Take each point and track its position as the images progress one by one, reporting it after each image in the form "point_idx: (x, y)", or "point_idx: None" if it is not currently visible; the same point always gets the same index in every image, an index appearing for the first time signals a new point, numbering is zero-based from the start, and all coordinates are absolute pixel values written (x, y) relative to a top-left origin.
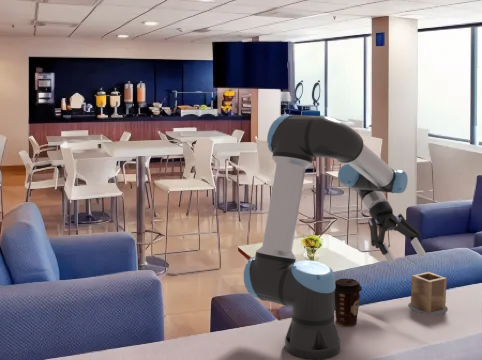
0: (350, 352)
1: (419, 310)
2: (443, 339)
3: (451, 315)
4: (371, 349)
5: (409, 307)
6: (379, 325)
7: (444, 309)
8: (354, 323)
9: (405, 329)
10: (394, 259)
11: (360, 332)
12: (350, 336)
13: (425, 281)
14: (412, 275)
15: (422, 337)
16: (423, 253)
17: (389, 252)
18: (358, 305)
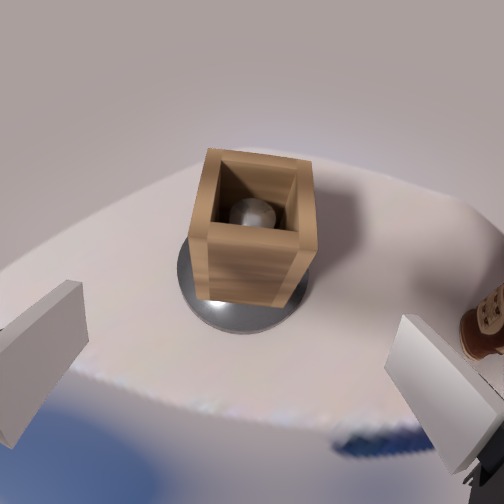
0: (495, 233)
1: None
2: (341, 164)
3: None
4: (470, 220)
5: (300, 298)
6: (424, 283)
7: None
8: (471, 309)
9: (384, 233)
10: (410, 317)
11: (468, 279)
12: (485, 276)
13: (312, 180)
14: (316, 248)
15: (373, 191)
16: (78, 291)
17: (453, 349)
18: (494, 291)
